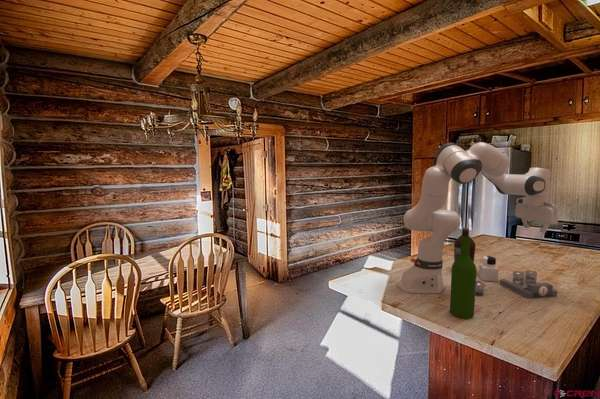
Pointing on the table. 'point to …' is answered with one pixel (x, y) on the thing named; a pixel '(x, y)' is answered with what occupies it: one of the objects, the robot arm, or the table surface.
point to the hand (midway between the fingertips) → (534, 230)
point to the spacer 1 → (479, 288)
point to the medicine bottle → (488, 269)
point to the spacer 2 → (518, 277)
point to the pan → (522, 286)
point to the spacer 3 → (530, 276)
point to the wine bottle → (463, 283)
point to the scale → (532, 289)
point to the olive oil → (458, 245)
